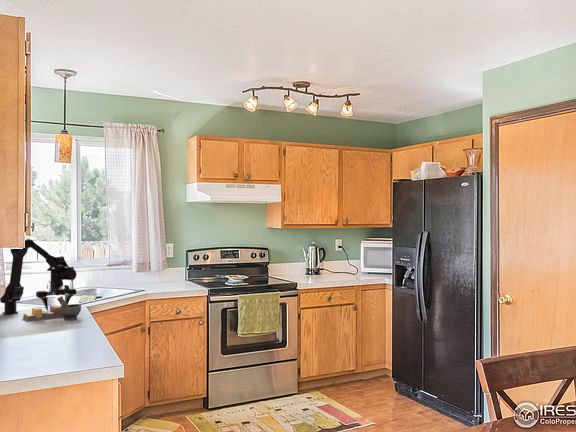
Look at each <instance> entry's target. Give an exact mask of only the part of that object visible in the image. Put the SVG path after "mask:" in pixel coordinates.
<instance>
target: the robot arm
mask: <svg viewBox="0 0 576 432" xmlns="http://www.w3.org/2000/svg"><path fill="white" fill-rule="evenodd" d="M24 240H25V248H23V249H11V248H10V254H11V255H12V263H11V270H10V280H9V283H8V285H7V286H6V287H5V290H4V293H3V295H2V296H1V297H0V303H1V304H4V305H3V306H4V311H2V314H3V313H4V315H12V314H14V313H15V314H19V311H17V302H20V301H21V298H22V296H23V295H24V290H25V289H24V286H22V284H21V277H22V272H23V271H22V270H23V265H24V263H23V262H24V257H25V255H26V254H27V253H28V250H29V249H30V248H31V249H32V250H34V251H35V252H36V253H38V254H39V255H40V256H41V257H43V258H44V259H45V262H46V263H47V264H48V266H49V267H48V268H47V269H46V271H47V272H50V281H49V284H50V289H49V291H46V290H37V291H36V293H35V297H36V298H38V299H40V300H41V301H42V303H43V305H44V307H45V311H48V310H49V305H48V303H49V302H48V297H47V296H54V295H55V296H64V300H65V302H66V303H67V304H68V305H69V302H70V300H71V298H72V297H74V296H75V295H77V288H71V287H70V285H69V284H64V281H75V279H77V272H76V270H75V268H74V266H69V264H68V263H67V261H66V260H65V256H63V255H61V254H60V253H57V252H55V251H52V250H50V248H47V246H45V245H43V244H42V243H41V241H39V240H38V239H37V238H28V239H24Z"/></svg>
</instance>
